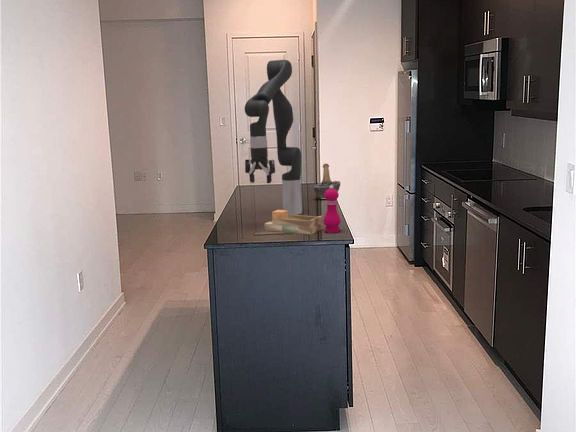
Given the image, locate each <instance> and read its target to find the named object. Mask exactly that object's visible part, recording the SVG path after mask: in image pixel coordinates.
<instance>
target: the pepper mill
mask: <svg viewBox="0 0 576 432" xmlns="http://www.w3.org/2000/svg"><path fill="white" fill-rule="evenodd" d="M329 188H330V189H328V190H327V191H326V192H325V198H326V200H325V202H326V203H325V204H326V207H327V209H326V212H325V215H324V218H323V225H325V227H324V232H325V233H327V234H336V233H340V231H341V230H340V226H339V225H340V224H341V217H340V215H339V212H338V208H337V207H338V206H337V205H338V198H339V195H340V194H339V191H337V190H335V189H333V188H334V187H333V186H332V185H331V186H330V187H329ZM335 232H336V233H335Z"/></svg>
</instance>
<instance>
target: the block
mask: <svg viewBox="0 0 576 432" xmlns="http://www.w3.org/2000/svg"><path fill="white" fill-rule="evenodd" d="M271 214H272V215H271V216H272V218H280V219H288V210H283V209H276V210H273V211H272V213H271Z"/></svg>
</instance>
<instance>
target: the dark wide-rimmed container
mask: <svg viewBox="0 0 576 432" xmlns="http://www.w3.org/2000/svg"><path fill="white" fill-rule="evenodd" d="M329 167H330V164H328V163H323V165H322V168H323V171H322V172H323V174H322V180H321V182H319V183H317V184H314V185H313V190H314V191H313V192H315V195H316V196H317V197H318V198H320V199H321V198H325V192H326V191H327V190H328V189H330V188H329V187H330V186H331V185H332V186H333V187H334V188H333V189H335V190H337V191H338V192H339V191H340V187H341V181H339V180H338V181H337V180H335V181H332V180H331V176H330V169H329Z"/></svg>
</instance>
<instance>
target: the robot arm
mask: <svg viewBox="0 0 576 432" xmlns="http://www.w3.org/2000/svg"><path fill="white" fill-rule="evenodd" d="M292 73H293V66H292V63H291V61H289V60H287V59H277V60H269V61H268V62H267V64H266V74H267V81H266V82H264V83H263V84H262V85H261V86H260V88H259V89H258V91H257V92H256V94H255V95H253V96H251V98H249V99H248V100H247V101H246V102H245V105H244V113H245V114H246V117H250V118H256V117H257V118H258V120H257V121H255V122H252V123H250V124H249V135H250V139H249V143H250V144H249V147H250V149H249V150H250V158H251V159H250V158H247V159H245V160H244V169H245V170H244V172H245V174H248V175H249V182H250V183H251V184H252V183H253V184H254V183H255V174H254V173H255V172H256V170H260V171H263V172H265V174H266V184H271V183H272V179H273V177H272V175H273V174H275V173H276V165H275V160H274V159H268V156H269V155H268V154H269V153H268V151H269V150H268V140H267V139H268V137H267V128H266V127H267V122H268V116H269V111H270V106H269V104H270V103H271V102H272V112H273V118H274V119H273V121H274V126H275V133H276V135H275V136H276V147H277V149H276V150H277V153H276V154H277V160H278V164H280V166H283V167H284V166H285V167H286V166H288V167H290V170H289V171H287V172H285V173H283V174H281V179H282V180H281V181H282V182H281V185H282V186H281V187H282V210H288V215H301V214H302V213H303V199H302V186H301V185H302V183H301V180H302V179H301V178H302V177H301V175H302V152H301V149H300V148H299V147H297V146H294V147H293V146H290V147H289V146H287V137H288V134H289V132H290V130H291V128H292V125H293V124H294V112H293V106H292V104H291V102H290V101H289V100H288V98H287V97H286V95H285V94H284V93H283V91H282V89H281V88H282V86H284V84H286V83H287V81H289V79H290V78H291V76H292Z"/></svg>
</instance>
